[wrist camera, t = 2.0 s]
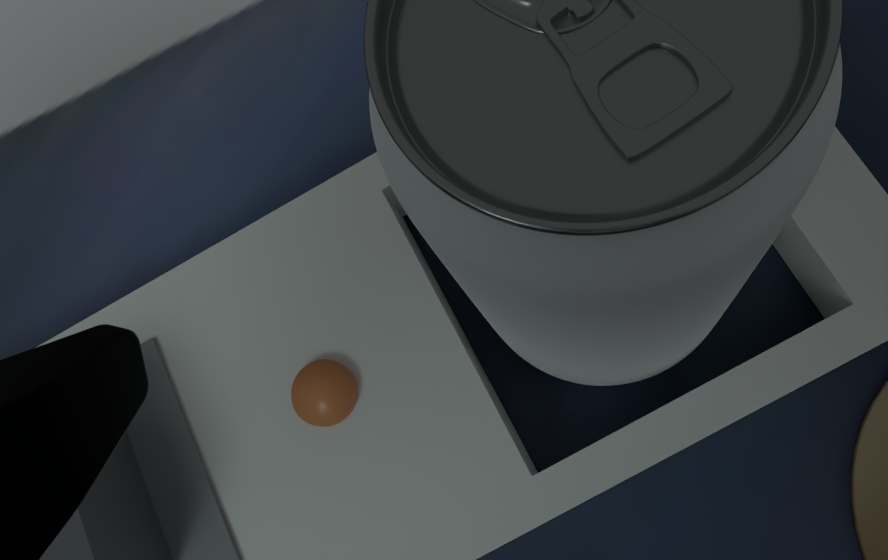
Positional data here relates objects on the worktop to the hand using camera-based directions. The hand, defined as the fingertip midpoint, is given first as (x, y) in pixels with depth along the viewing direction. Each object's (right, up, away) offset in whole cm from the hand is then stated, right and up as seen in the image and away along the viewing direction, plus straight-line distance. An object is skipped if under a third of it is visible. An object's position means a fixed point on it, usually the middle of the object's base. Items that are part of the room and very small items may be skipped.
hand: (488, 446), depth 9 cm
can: (+4, +2, +12) cm, 13 cm away
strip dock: (-2, -1, +12) cm, 13 cm away
